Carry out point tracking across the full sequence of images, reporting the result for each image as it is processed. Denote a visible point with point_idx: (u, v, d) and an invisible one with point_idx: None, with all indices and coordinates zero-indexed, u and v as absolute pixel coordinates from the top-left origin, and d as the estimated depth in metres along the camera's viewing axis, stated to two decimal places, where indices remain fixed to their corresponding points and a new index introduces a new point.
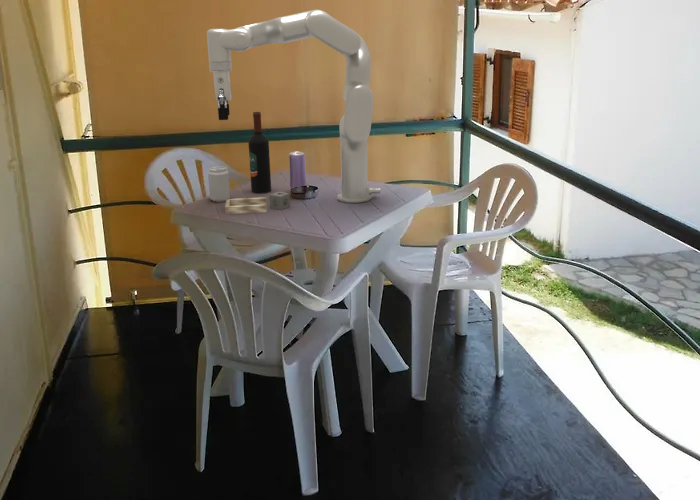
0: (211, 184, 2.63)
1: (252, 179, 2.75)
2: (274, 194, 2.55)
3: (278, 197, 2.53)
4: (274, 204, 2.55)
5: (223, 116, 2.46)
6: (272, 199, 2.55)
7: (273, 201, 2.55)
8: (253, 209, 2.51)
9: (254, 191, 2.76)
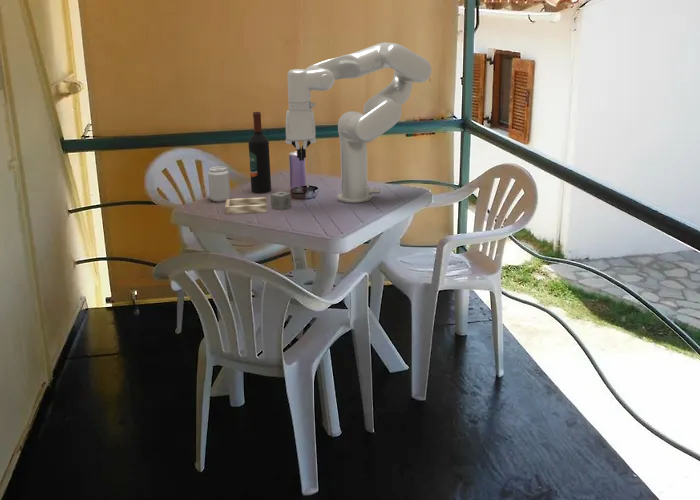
0: (211, 184, 2.63)
1: (252, 179, 2.75)
2: (275, 194, 2.55)
3: (279, 197, 2.53)
4: (275, 204, 2.55)
5: (305, 156, 2.52)
6: (273, 199, 2.55)
7: (274, 201, 2.55)
8: (253, 209, 2.51)
9: (254, 191, 2.76)
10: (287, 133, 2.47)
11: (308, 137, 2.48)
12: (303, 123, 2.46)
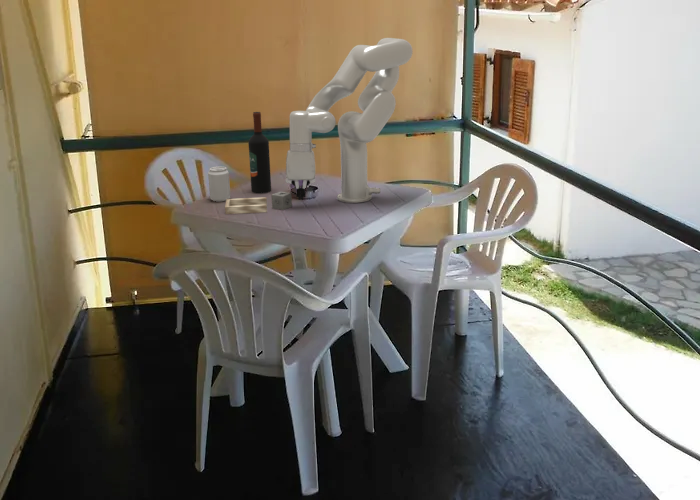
0: (211, 184, 2.63)
1: (252, 179, 2.75)
2: (276, 194, 2.56)
3: (280, 197, 2.53)
4: (276, 204, 2.55)
5: (304, 195, 2.57)
6: (274, 199, 2.55)
7: (275, 201, 2.55)
8: (253, 209, 2.51)
9: (254, 191, 2.76)
10: (287, 173, 2.51)
11: (307, 177, 2.52)
12: (303, 163, 2.50)
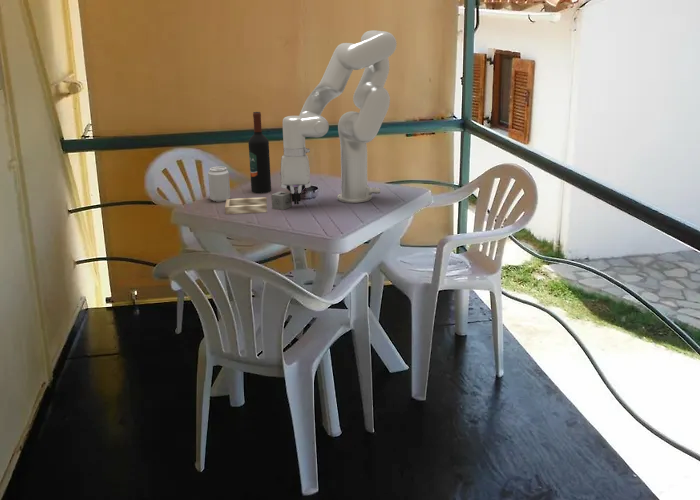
0: (211, 184, 2.63)
1: (252, 179, 2.75)
2: (276, 194, 2.56)
3: (280, 197, 2.53)
4: (276, 204, 2.55)
5: None
6: (274, 199, 2.55)
7: (275, 201, 2.55)
8: (253, 209, 2.51)
9: (254, 191, 2.76)
10: (282, 178, 2.52)
11: (302, 181, 2.53)
12: (298, 168, 2.51)
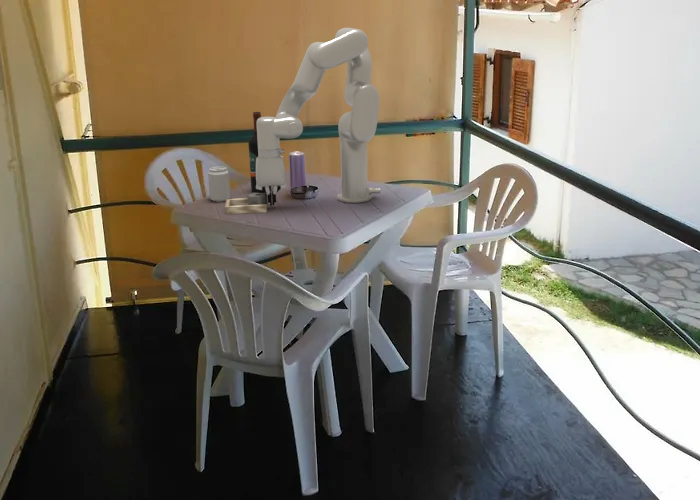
0: (211, 184, 2.63)
1: (252, 179, 2.75)
2: (252, 195, 2.54)
3: (257, 198, 2.52)
4: None
5: None
6: (251, 200, 2.53)
7: (252, 202, 2.53)
8: (253, 209, 2.51)
9: (254, 191, 2.76)
10: (257, 179, 2.51)
11: (277, 182, 2.52)
12: (273, 169, 2.50)
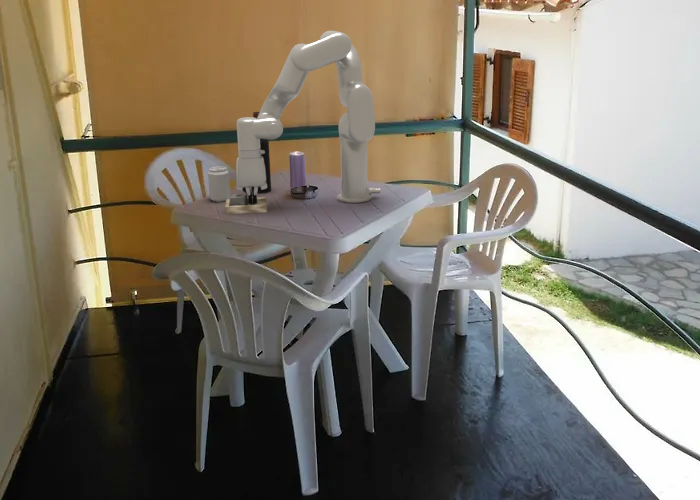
0: (211, 184, 2.63)
1: None
2: (234, 197, 2.52)
3: (240, 198, 2.51)
4: None
5: (256, 201, 2.56)
6: (233, 202, 2.52)
7: (235, 204, 2.52)
8: (253, 209, 2.51)
9: None
10: (237, 180, 2.50)
11: (258, 183, 2.51)
12: (253, 170, 2.49)
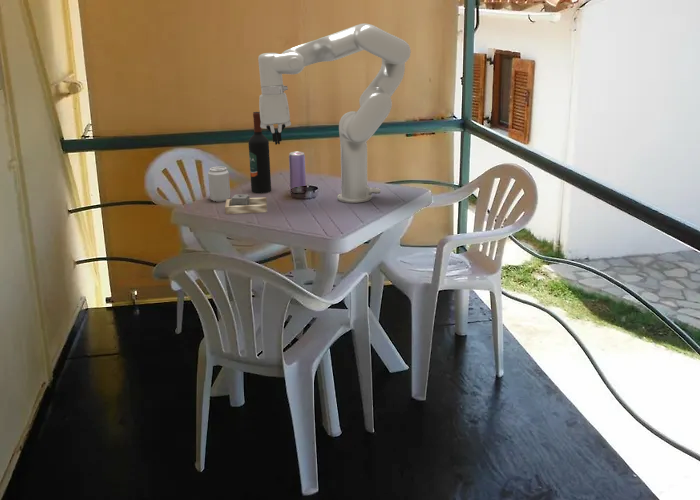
0: (211, 184, 2.63)
1: (252, 179, 2.75)
2: (236, 197, 2.53)
3: (242, 199, 2.51)
4: None
5: None
6: (235, 202, 2.52)
7: (236, 204, 2.52)
8: (253, 209, 2.51)
9: (254, 191, 2.76)
10: (261, 117, 2.48)
11: (282, 120, 2.50)
12: (277, 106, 2.47)
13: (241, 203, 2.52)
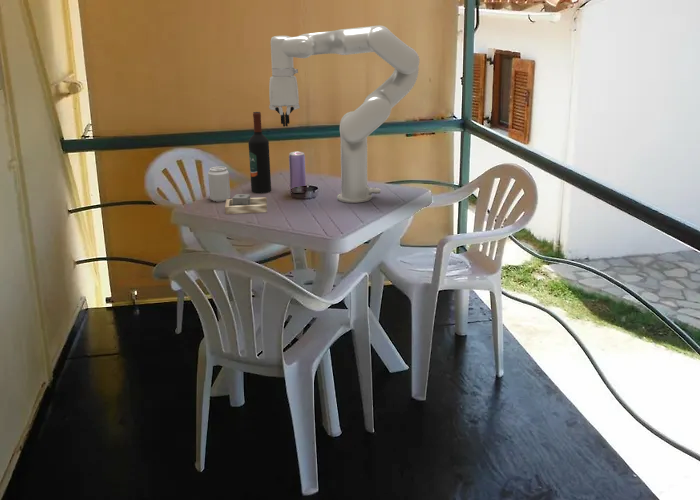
0: (211, 184, 2.63)
1: (252, 179, 2.75)
2: (237, 197, 2.53)
3: (243, 199, 2.51)
4: None
5: None
6: (236, 202, 2.52)
7: (237, 204, 2.52)
8: (253, 209, 2.51)
9: (254, 191, 2.76)
10: (271, 99, 2.52)
11: (291, 102, 2.53)
12: (286, 89, 2.51)
13: (242, 203, 2.52)
